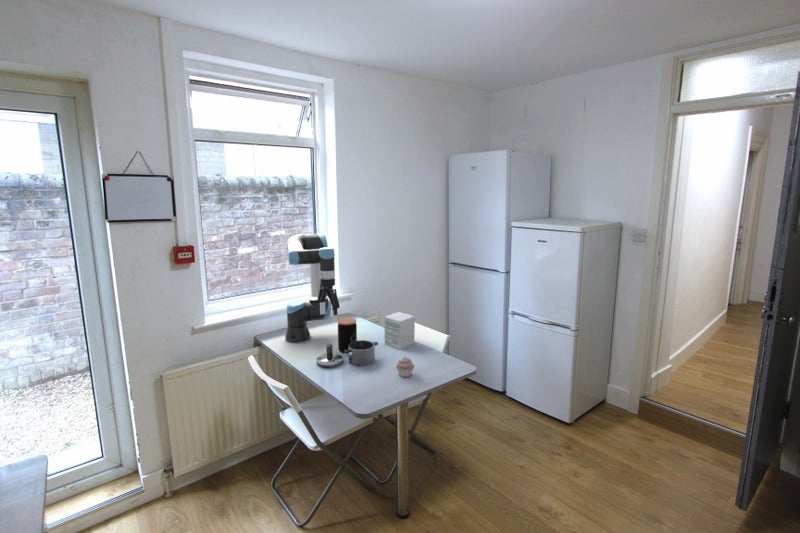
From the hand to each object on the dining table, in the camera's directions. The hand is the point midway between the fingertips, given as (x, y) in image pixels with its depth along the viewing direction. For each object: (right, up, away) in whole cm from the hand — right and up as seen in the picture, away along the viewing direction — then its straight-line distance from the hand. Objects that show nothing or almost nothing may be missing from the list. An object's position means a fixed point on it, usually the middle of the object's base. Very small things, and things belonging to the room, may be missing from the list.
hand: (328, 317), depth 210 cm
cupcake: (+40, -28, -8) cm, 50 cm away
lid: (0, -25, +5) cm, 26 cm away
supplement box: (+37, -20, +32) cm, 53 cm away
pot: (+17, -25, +8) cm, 31 cm away
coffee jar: (+7, -22, +22) cm, 32 cm away
